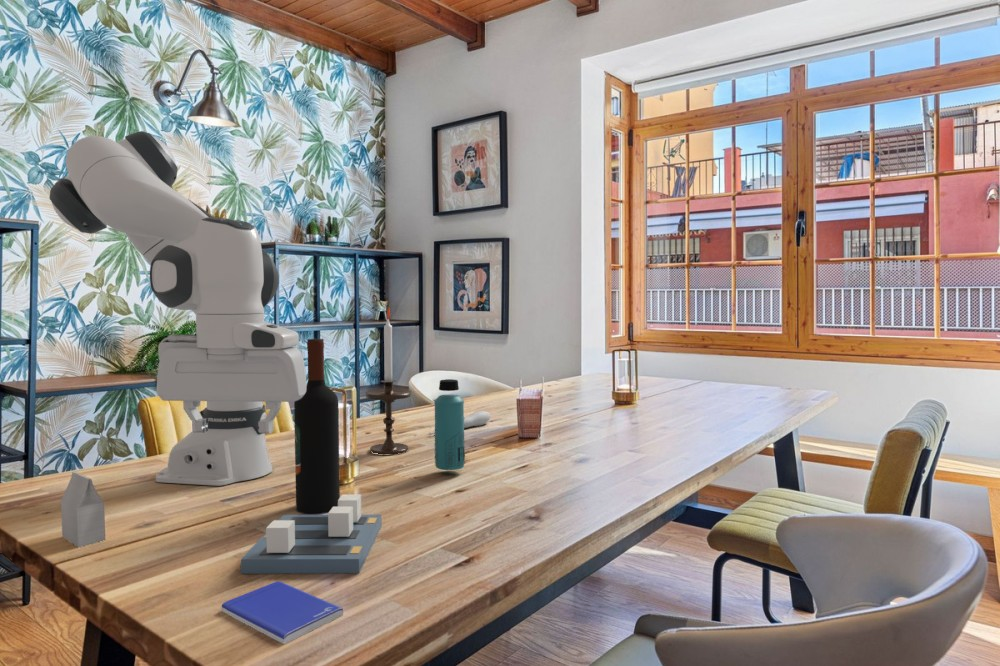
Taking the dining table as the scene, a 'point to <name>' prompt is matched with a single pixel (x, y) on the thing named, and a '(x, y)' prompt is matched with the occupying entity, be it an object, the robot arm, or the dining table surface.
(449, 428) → the beverage bottle
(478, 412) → the screwdriver
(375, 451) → the candlestick
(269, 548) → the tab
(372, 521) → the switch board
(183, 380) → the robot arm
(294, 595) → the hard drive
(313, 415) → the wine bottle
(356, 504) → the tab
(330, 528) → the tab
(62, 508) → the grey gabled box
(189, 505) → the dining table surface
